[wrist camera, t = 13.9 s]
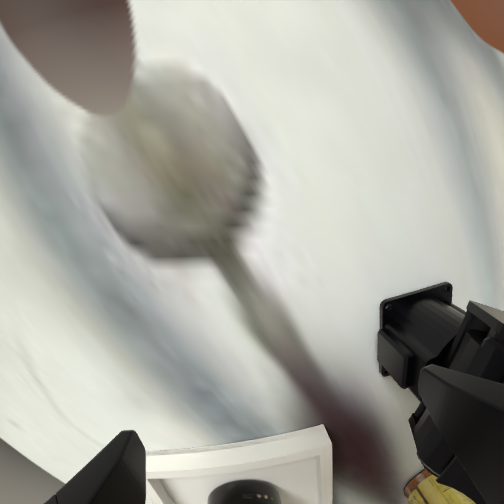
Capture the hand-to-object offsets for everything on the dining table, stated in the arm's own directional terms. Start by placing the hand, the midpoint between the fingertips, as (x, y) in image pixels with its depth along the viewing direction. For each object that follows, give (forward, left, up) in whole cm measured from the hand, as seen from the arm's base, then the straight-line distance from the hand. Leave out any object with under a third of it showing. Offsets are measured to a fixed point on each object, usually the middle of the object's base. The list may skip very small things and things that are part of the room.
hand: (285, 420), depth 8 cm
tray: (+4, +21, -12) cm, 25 cm away
